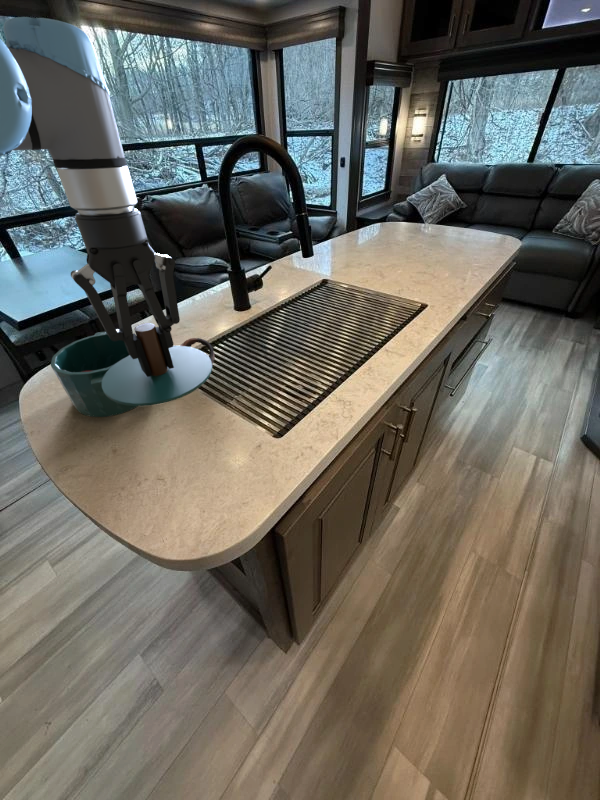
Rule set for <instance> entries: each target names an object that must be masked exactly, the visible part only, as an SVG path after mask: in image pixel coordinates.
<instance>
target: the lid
mask: <svg viewBox="0 0 600 800" xmlns="http://www.w3.org/2000/svg"><path fill="white" fill-rule="evenodd" d="M156 327H157V326H156V325H155V324H154V323H150V322H147V323H146V322H145V323H141V324H139V325H137V326H135V327H134V333H135V335H136V336H137V337H138V338H139V339H140V341H141V344H142V347H143V350H144V353H145V356H146V359H147V362H148V365H149V368H150V371H151V374H152V376H149V377H147V376H146V375H145V373H144V372H143V371H142V368H141V366H140V363H139V360H138V358H137V359H133V358H132V357H131V356H128V357H126V358H124V359H122V360H120V361H119V362H117V363H116V364H114V365H113V366H112V367H111V368H110V369H109V370H108V371H107V372H106V374H105V375H104V377H103V379H102V389H103V392H104V393H105V395H106V396H107V397H108V398H109V399H111V400H113V401H115V402H117V403H120V404H124V405H130V406H137V407H148V406H157V405H161V404H162V405H163V404H166V403H170V402H172V401H175V400H179V399H181V398H183V397H185V396H188V395H189V394H192V393H193V392H195V391H196V390H198V389H200V387H202V386H203V385H204V384H205V383H206V382H207V381H208V379H209V378H210V377H211V374H212V372H213V364H212V362H211V359H210V358H209V354H207V353H205V352H204V351H202V350H201V349H198V348H195V347H193V346H191V347H186V346H180V345H173V347H171V348H169V352H170V355H171V359H172V362H173V366H174V368H172V369H169V368H168V367H167V364H166V360H165V357H164V354H163V351H162V347H161V344H160V341H159V337H158V334H157V331H156Z"/></svg>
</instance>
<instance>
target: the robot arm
mask: <svg viewBox="0 0 600 800" xmlns="http://www.w3.org/2000/svg"><path fill="white" fill-rule="evenodd" d="M3 33H4V36H5V39H6V40H5V42H4V41H3V40H2V38H0V157H2V156H6V155H8V154H10V153H12V152H13V151H27V150H28V151H29V150H31V151H41V150H47V151H48V153H49V155H50V156H51V159H52V162H53V164H54V167H55V168H56V171H57V175H58V176H59V180H60V182H61V185H62V187H63V190H64V193H65V196H66V199H67V201H68V204H69V206H70V208H72V209H73V210H76V211H77V212H76V213H75V216H74V220H75V223H76V225H77V228H78V231H79V233H80V236H81V238H82V241H83V244H84V246H85V250H86V264H85V265H84V266H82V267H81V268H80V269H78V270H75V269H73V270H71V272H70V277H71V279H72V280H73V281H74V282H75V284H77V286H79V287H80V289H82V290H83V291H84V293H85V295H86V297H87V299H88V301H89V302H90V304H91V307H92V308H93V310H94V312H95V314H96V316H97V318H98V320H99V322H100V324H101V325H102V327H103V329H104V332H105V331H106V333H107V335H108V336H109V337H110V339H111V340H112V341H118V340H122V341H124V343H125V346H126V348H127V351H128V354H129V355H130V356H131V357H132V358H133V359H137V358H138V360H139V363H140V366H141V368H142V371H143V372H144V373H145V375H146V376H147V377H149V376H152V374H151V371H150V368H149V365H148V362H147V359H146V356H145V353H144V350H143V347H142V344H141V341H140V339H139V338H138V337H137V336H136V333H135V332H134V333H133V326H132V320H131V319H132V318H131V315H130V308H129V302H128V297H127V296H128V293H127V288H128V287H130V286H133V285H134V286H135V285H137V286H138V287H139V289H140V291H141V294H142V295H143V297H144V300H145V302H146V304H147V306H148V308H149V310H150V312H151V315H152V316H153V319H154V320H155V322H156V324H157V326H155V327H156V331H157V334H158V337H159V341H160V344H161V347H162V351H163V354H164V357H165V360H166V364H167V367H168V368H169V369H172V368H174V366H173V362H172V359H171V355H170V352H169V348H171V347H173V346H174V344H175V343H174V340H173V336H172V333H171V331H172V329H173V328H172V326H174V325H178V324H179V323H180V321H181V319H180V318H181V317H180V313H179V312H180V311H179V306H178V298H177V293H176V286H175V279H174V271H175V267H176V266H175V265H176V260H175V259H174V258H173V257H171V256H169V255H168V254H160V253H156V252H155V250H154V249H153V248H152V246H151V245H150V243H149V240H148V236H147V232H146V229H145V224H144V221H143V218H142V214H141V211H140V210H138V209H137V208H135V206H136V205H137V204H138V198H137V195H136V191H135V188H134V185H133V180H132V177H131V173H130V170H129V167H128V164H127V159H126V157H125V153H124V149H123V145H122V141H121V137H120V133H119V129H118V125H117V121H116V117H115V113H114V109H113V105H112V101H111V97H110V96H111V94H110V90H109V87H108V86H107V83H106V79H105V76H104V73H103V70H102V66H101V63H100V60H99V58H98V54H97V52H96V49H95V47H94V43H93V42H92V40H91V38H90V37H89V36H88V35H87V33H86V32H85V31H83V29H81V28H80V27H78V26H76V25H74V24H71V23H69V22H65V21H63V20H58V19H53V18H47V17H46V18H45V17H29V16H17V17H11V18H8V19H7V20H5V21H4V23H3ZM154 263H155V267H156V269H157V270H158V275H159V281H160V286H161V292H162V293H161V294H162V298H163V304H164V310H165V312H164V310H163V308H162V305H161V304H160V301H159V299H158V297H157V294H156V293H155V290H154V286H153V284H152V282H151V280H150V278H149V277H150V273H151V272H152V269H153V267H154V266H153V265H154ZM95 273H96V274H97V275H99V276H100V277H101V278H102V279H104V280H105V281H106V282H107V283H109V285H110V289H111V292H112V298H113V302H114V307H115V312H116V318H117V322H118V327H119V328H116V327H115V325H114V323H113V320H112V319H111V316H110V314H109V312H108V310H107V308H106V307H105V304H104V303H103V300H102V298H101V297H100V295H99V293H98V291H97V289H96V288H95V287H94V285H95V284H96V279H95V277H94V274H95Z"/></svg>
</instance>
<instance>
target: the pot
mask: <svg viewBox="0 0 600 800" xmlns="http://www.w3.org/2000/svg"><path fill="white" fill-rule="evenodd" d="M128 356H130V355H129V354H128V351H127V348H126V346H125V343H124V341H122V340H118V341H112V340H111V339H110V337H109V336H108V335H107V333H106V331H105V330H104V331H100V332H95V333H94V335H89V336H87V337H86V336H85V337H84V338H81V339H77V340H75V341H73V342H71V343H69V344H67V345H65V346H63V347H61V348H60V349H59V350H58V351H57V352H56V353H55V354H54V355H53V356H52V357H51V361H50V367H51V368H52V371H53V372H54V374H55V376H56V377H57V379H58V381H59V382H60V384H61V386H62V388H63V390H64V391H65V394H66V395H67V397H68V398H69V400H70V402H71V404H72V405H73V406H74V408H75V409H76V411H78V413H79V414H81V415H84V416H87V417H92V418H107V417H113V416H117V415H120V414H124V413H126V412H129V411H132V410H134V409H135V408H137V407H138V406H130V405H124V404H120V403H117V402H115V401H113V400H111V399H109V398H108V397H107V396H106V395H105V393H104V392H103V389H102V379H103V377H104V375H105V374H106V372H107V371H108V370H109V369H110V368H111V367H112V366H113V365H114V364H116V363H117V362H119V361H120V360H122V359H124V358H126V357H128ZM88 370H91V371H90V372H82V371H88Z"/></svg>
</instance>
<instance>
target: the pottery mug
mask: <svg viewBox="0 0 600 800" xmlns="http://www.w3.org/2000/svg"><path fill="white" fill-rule="evenodd" d="M197 343H198V344H201V345H203V346H205V347H207V348H208V350H209V354H208V356H209V358H210V359H211V362H212V365H214V361H215V358H216V357H215V351H214V348H213V346H212V344H211V343H210V342H209V341H208V340H206V339H204V338H200V337H192V338H191V337H190V338H188V339H186V340H184V341H183V342H182V343H181V344H180V345H179V346H186V347H193V346H192V345H195V344H197Z"/></svg>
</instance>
